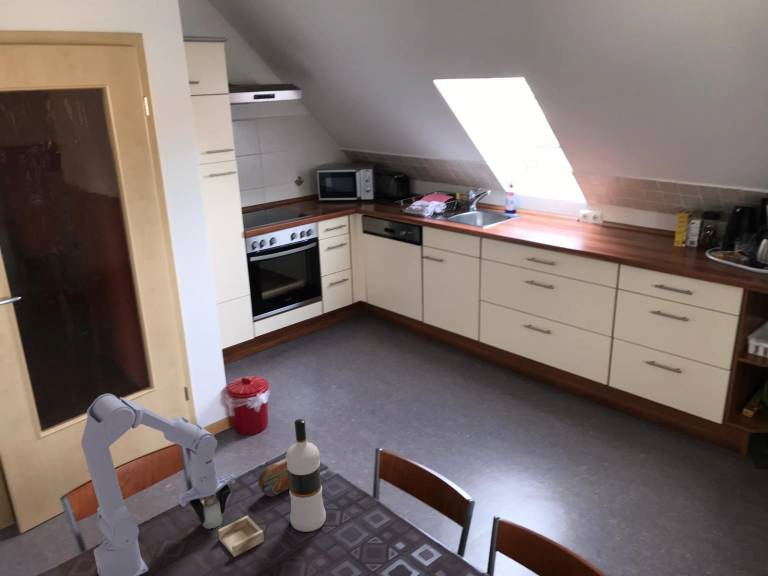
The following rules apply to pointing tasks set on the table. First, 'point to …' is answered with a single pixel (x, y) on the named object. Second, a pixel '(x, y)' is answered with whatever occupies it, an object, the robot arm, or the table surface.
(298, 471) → the vodka
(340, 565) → the table surface
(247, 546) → the wooden box
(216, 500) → the bottle
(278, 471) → the tin
